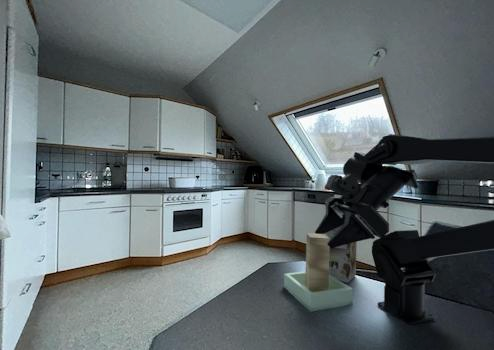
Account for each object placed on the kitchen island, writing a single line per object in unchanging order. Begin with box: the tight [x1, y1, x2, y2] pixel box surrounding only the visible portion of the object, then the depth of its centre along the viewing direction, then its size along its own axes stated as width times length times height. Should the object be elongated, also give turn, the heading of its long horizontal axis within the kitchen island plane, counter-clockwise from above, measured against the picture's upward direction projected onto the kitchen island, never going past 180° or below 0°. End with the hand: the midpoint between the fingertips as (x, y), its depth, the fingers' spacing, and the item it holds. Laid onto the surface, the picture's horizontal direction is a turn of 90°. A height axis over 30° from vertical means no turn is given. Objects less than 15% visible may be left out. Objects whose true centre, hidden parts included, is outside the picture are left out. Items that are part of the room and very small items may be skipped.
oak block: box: [305, 232, 330, 292], centre depth 47 cm, size 4×4×12 cm
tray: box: [283, 270, 354, 312], centre depth 47 cm, size 10×10×3 cm
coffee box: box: [325, 214, 358, 283], centre depth 58 cm, size 9×6×16 cm
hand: (321, 239), depth 47 cm, fingers open, 9 cm apart
